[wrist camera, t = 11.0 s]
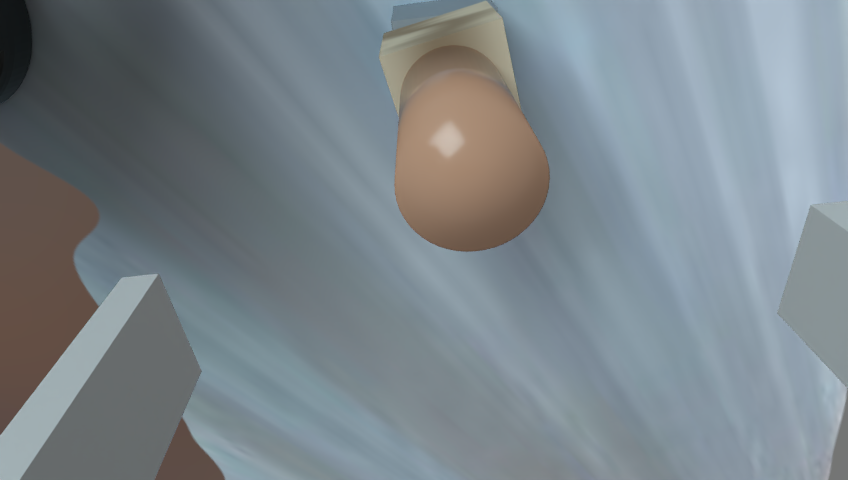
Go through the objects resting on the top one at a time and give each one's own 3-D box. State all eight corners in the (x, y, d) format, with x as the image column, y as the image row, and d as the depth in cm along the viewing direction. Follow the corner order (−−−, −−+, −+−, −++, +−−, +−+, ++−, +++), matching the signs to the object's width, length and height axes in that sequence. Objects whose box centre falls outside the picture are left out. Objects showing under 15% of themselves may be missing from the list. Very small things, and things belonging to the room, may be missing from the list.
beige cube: (414, 130, 34) (415, 168, 28) (383, 33, 31) (378, 56, 25) (508, 102, 33) (526, 137, 28) (486, 0, 30) (502, 18, 25)
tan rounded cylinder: (406, 154, 28) (403, 257, 19) (393, 51, 25) (384, 118, 17) (505, 144, 28) (547, 244, 19) (503, 39, 25) (551, 101, 17)
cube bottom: (406, 95, 39) (405, 123, 33) (393, 5, 35) (391, 21, 30) (489, 85, 38) (501, 111, 33) (484, -6, 35) (497, 7, 30)
